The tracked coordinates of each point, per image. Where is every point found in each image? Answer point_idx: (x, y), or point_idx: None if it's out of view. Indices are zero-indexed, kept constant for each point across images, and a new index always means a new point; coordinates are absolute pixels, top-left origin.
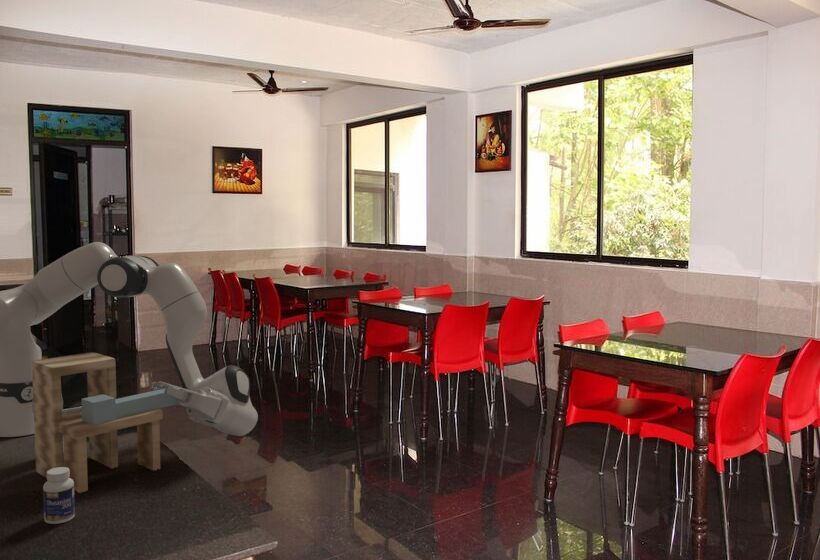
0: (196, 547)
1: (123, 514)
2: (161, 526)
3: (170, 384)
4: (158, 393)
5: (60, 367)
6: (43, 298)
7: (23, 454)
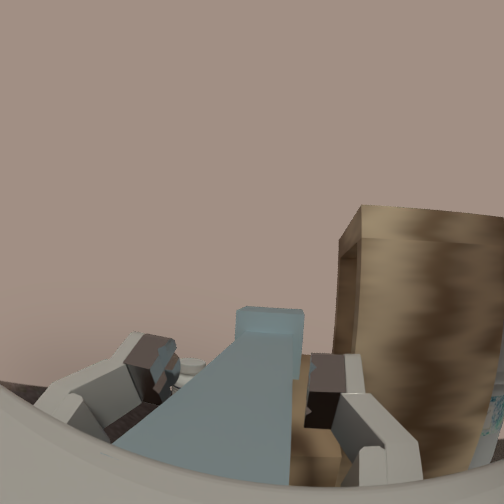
0: (7, 386)
1: (114, 432)
2: None
3: (412, 488)
4: (210, 374)
5: (340, 238)
6: None
7: (500, 450)
